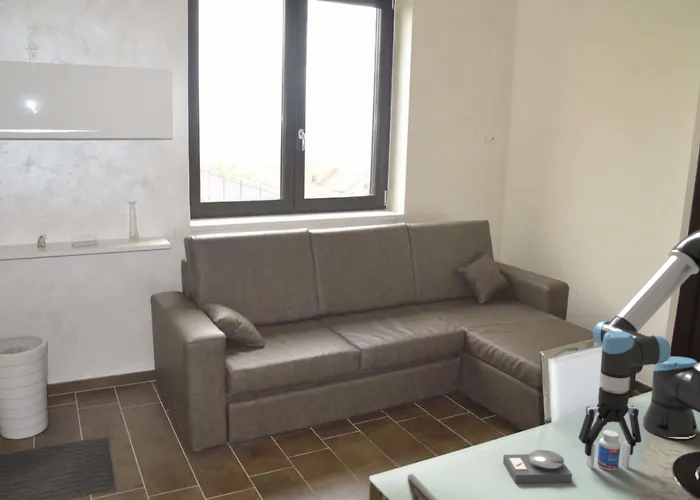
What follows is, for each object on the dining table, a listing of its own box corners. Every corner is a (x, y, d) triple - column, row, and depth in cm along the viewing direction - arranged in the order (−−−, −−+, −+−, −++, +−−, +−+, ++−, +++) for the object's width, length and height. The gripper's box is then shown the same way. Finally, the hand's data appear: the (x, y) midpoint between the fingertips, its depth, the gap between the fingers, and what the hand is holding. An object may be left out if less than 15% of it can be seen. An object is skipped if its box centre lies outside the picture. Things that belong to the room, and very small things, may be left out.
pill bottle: (608, 473, 172) (611, 439, 170) (592, 464, 177) (595, 431, 175) (622, 468, 174) (625, 435, 173) (606, 459, 179) (609, 427, 177)
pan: (556, 453, 176) (556, 449, 176) (568, 469, 167) (569, 465, 167) (524, 453, 176) (524, 450, 175) (535, 470, 167) (535, 466, 167)
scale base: (555, 461, 178) (556, 451, 177) (571, 482, 167) (572, 471, 166) (503, 462, 177) (503, 452, 176) (515, 483, 166) (516, 472, 165)
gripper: (646, 382, 176) (639, 458, 180) (569, 383, 175) (563, 459, 178) (660, 393, 169) (653, 471, 172) (580, 394, 167) (574, 473, 171)
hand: (607, 465), depth 175 cm, fingers open, 9 cm apart
